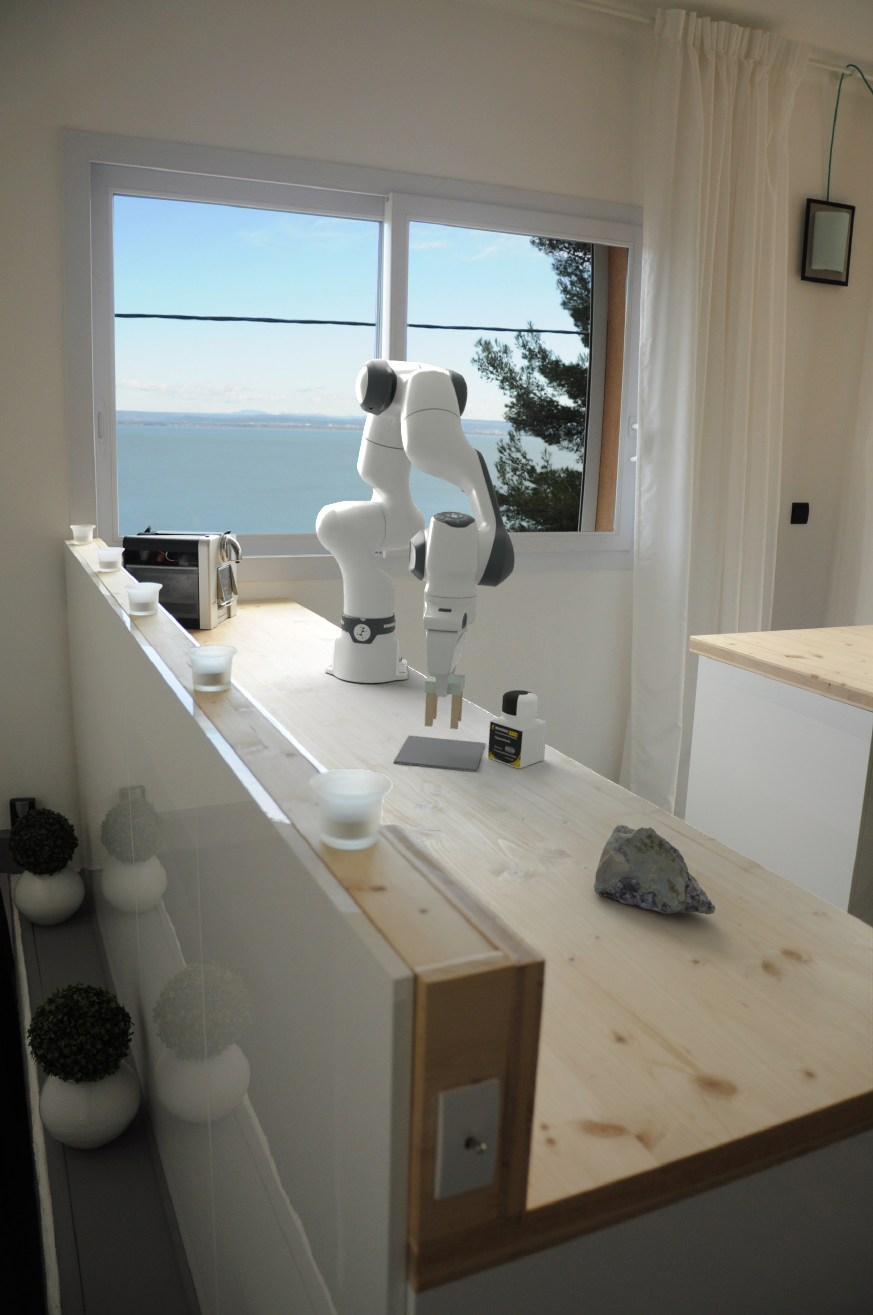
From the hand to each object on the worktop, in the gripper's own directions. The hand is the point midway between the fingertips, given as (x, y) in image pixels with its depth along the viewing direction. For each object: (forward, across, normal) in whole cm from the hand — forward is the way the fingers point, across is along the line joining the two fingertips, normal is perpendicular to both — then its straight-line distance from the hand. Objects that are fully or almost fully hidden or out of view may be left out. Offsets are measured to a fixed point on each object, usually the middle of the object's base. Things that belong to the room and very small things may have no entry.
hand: (445, 690), depth 162 cm
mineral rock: (+12, +48, +32) cm, 59 cm away
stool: (+6, 0, 0) cm, 6 cm away
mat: (+12, 0, 0) cm, 12 cm away
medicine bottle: (+12, -1, +13) cm, 17 cm away
